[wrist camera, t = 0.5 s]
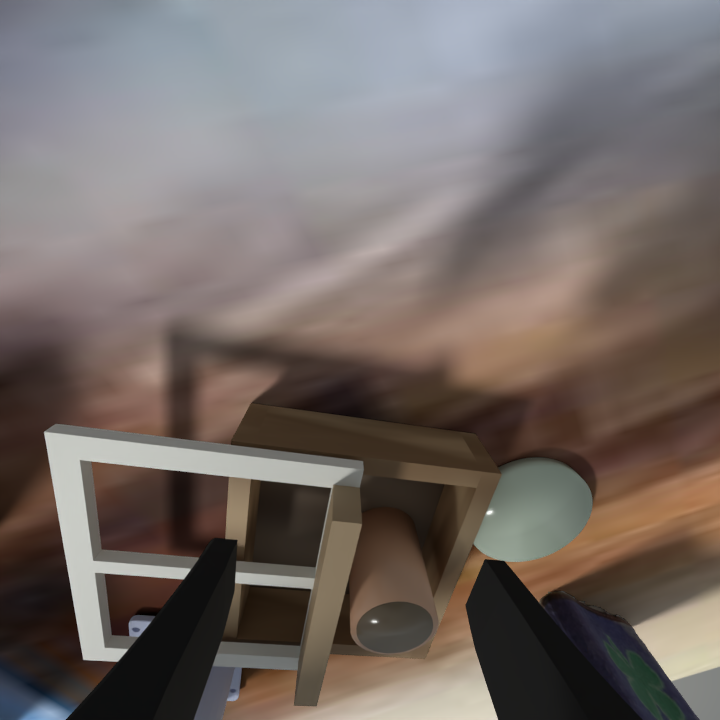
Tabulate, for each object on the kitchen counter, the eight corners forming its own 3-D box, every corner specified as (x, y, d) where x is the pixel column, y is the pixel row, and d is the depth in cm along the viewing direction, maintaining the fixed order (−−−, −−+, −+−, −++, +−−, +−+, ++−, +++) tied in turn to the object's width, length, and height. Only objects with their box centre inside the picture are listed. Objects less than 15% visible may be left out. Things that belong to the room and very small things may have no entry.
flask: (634, 621, 27) (804, 849, 17) (607, 641, 28) (754, 869, 18) (554, 584, 25) (694, 820, 15) (528, 607, 26) (644, 845, 16)
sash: (317, 659, 20) (314, 716, 18) (91, 647, 19) (54, 708, 17) (363, 460, 15) (366, 504, 13) (56, 423, 14) (-6, 464, 11)
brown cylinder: (406, 560, 23) (426, 659, 17) (342, 554, 22) (343, 654, 17) (423, 510, 21) (450, 603, 16) (354, 503, 20) (359, 596, 15)
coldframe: (414, 602, 25) (425, 658, 22) (235, 589, 23) (218, 648, 20) (475, 433, 20) (502, 474, 16) (251, 403, 18) (231, 440, 15)
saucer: (555, 555, 24) (562, 566, 23) (449, 545, 23) (452, 556, 22) (604, 465, 21) (614, 474, 20) (485, 449, 20) (491, 458, 19)
